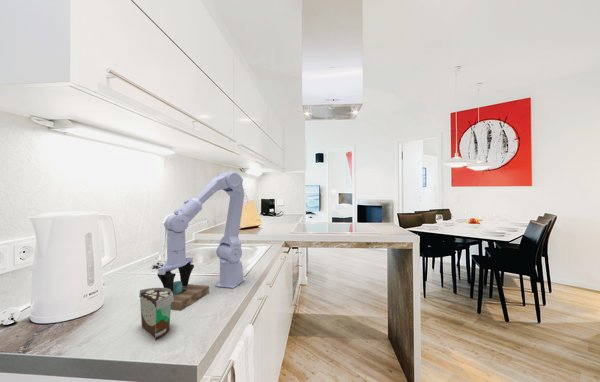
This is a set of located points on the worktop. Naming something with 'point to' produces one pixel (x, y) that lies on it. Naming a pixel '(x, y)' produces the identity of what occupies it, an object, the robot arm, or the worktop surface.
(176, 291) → the teal peg
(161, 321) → the food container
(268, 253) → the worktop surface
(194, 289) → the walnut collar plate
